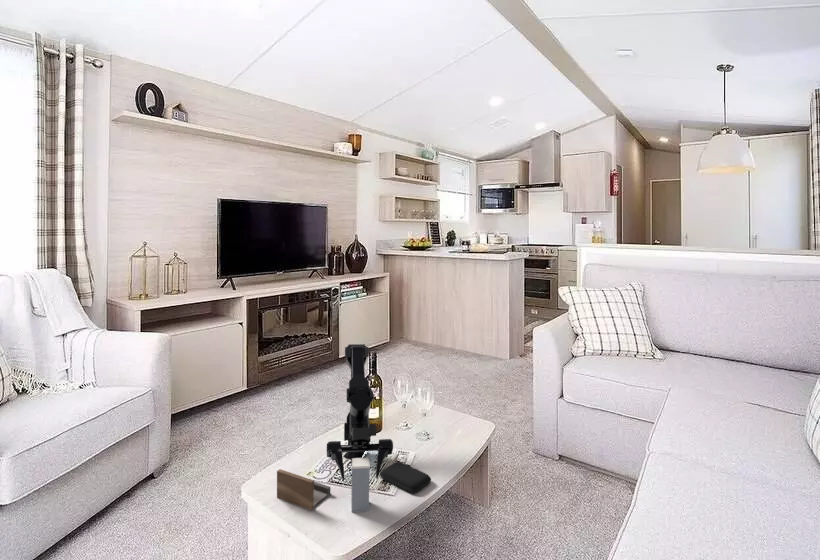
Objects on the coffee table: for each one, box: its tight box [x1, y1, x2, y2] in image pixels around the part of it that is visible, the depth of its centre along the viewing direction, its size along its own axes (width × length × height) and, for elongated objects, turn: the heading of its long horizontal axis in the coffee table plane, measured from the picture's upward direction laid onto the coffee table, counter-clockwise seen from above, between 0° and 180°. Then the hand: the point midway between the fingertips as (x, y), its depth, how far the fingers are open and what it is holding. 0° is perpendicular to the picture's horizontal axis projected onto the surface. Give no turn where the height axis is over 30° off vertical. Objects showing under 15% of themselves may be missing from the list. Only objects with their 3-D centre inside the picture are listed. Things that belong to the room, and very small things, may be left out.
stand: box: [276, 468, 331, 511], centre depth 130 cm, size 9×12×8 cm
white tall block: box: [350, 456, 371, 513], centre depth 125 cm, size 5×5×13 cm
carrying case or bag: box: [379, 461, 432, 494], centre depth 140 cm, size 11×3×15 cm
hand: (360, 479), depth 125 cm, fingers open, 9 cm apart
